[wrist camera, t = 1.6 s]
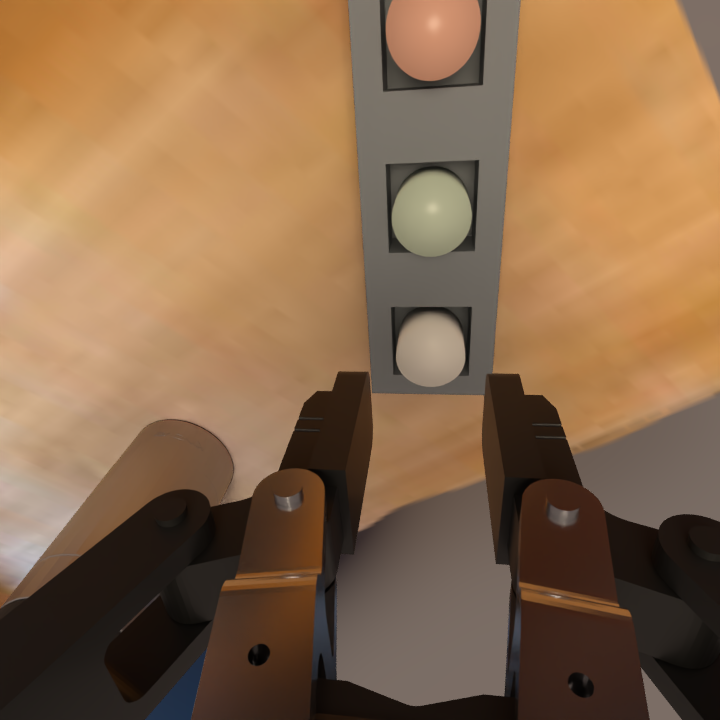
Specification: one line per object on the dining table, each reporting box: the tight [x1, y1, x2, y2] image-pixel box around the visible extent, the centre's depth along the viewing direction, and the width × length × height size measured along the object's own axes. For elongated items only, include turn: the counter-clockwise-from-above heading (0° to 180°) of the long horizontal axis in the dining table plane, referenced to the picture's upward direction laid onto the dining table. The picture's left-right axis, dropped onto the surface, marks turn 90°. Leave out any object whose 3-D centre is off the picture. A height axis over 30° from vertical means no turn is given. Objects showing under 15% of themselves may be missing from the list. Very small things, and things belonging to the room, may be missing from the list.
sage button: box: [392, 166, 472, 257], centre depth 29 cm, size 4×4×3 cm
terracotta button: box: [386, 0, 481, 81], centre depth 24 cm, size 4×4×3 cm
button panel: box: [348, 0, 521, 395], centre depth 31 cm, size 25×8×4 cm, turn 3°
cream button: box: [396, 307, 465, 387], centre depth 33 cm, size 4×4×3 cm
